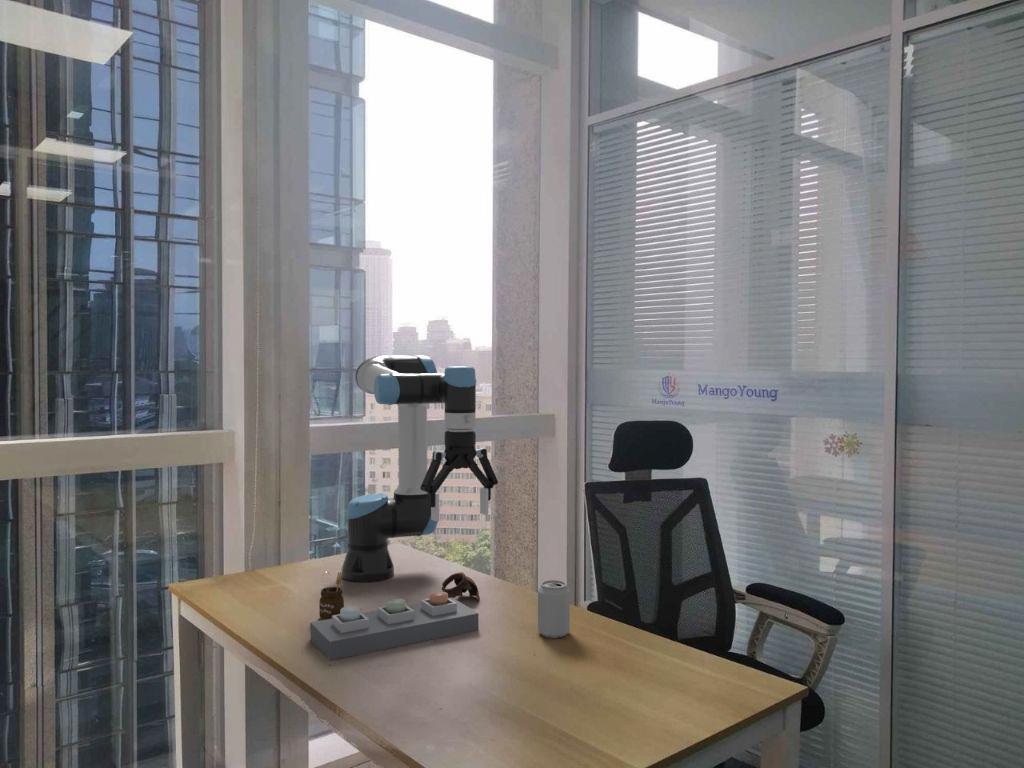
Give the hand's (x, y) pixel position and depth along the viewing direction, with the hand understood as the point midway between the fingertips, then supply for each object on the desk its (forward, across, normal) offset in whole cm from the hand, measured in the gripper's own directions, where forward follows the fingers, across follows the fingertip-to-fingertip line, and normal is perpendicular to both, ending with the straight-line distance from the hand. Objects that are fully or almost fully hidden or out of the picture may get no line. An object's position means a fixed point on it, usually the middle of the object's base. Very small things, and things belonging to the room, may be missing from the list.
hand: (460, 517), depth 191 cm
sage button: (+20, -17, 0) cm, 26 cm away
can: (+26, +14, -19) cm, 35 cm away
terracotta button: (+20, -6, 0) cm, 21 cm away
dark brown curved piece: (+26, +9, +15) cm, 31 cm away
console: (+26, -17, 0) cm, 31 cm away
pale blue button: (+20, -28, +1) cm, 34 cm away
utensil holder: (+26, -25, +20) cm, 41 cm away
